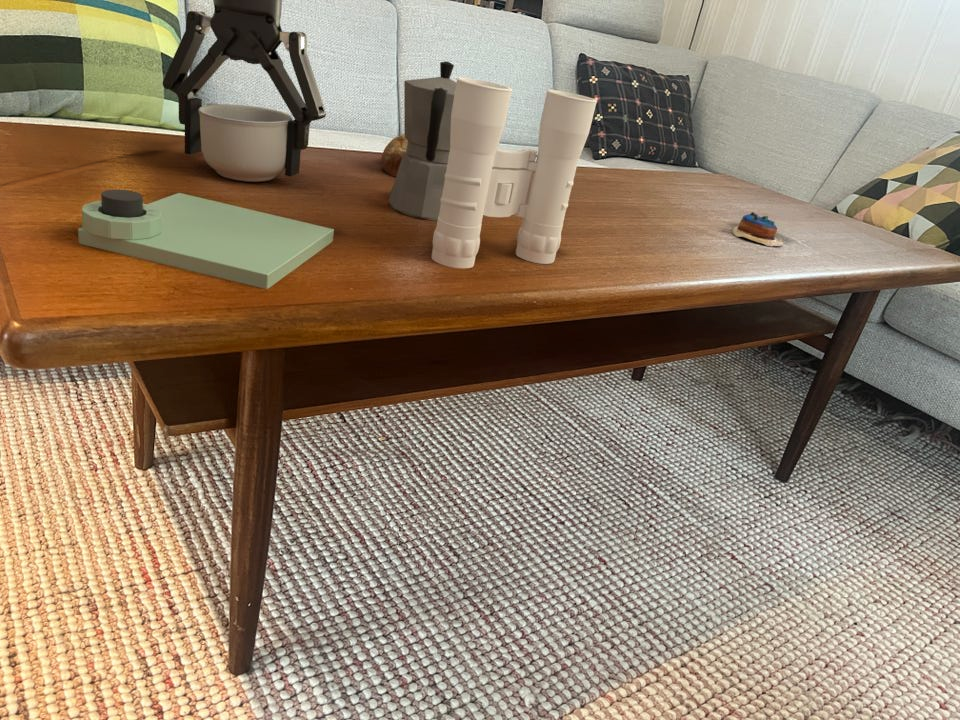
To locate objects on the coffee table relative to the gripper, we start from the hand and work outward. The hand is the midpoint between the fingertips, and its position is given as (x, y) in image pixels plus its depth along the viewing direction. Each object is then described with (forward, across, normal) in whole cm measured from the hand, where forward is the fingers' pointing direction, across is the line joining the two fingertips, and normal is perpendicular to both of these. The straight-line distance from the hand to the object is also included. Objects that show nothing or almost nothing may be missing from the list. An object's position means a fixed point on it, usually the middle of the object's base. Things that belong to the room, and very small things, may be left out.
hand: (242, 163), depth 92 cm
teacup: (+1, 0, 0) cm, 2 cm away
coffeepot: (+2, -24, -2) cm, 24 cm away
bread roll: (+2, -17, -22) cm, 28 cm away
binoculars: (+2, -35, +10) cm, 36 cm away
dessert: (+3, -71, -32) cm, 78 cm away
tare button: (-1, -4, +31) cm, 31 cm away
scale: (+1, -10, +26) cm, 27 cm away
